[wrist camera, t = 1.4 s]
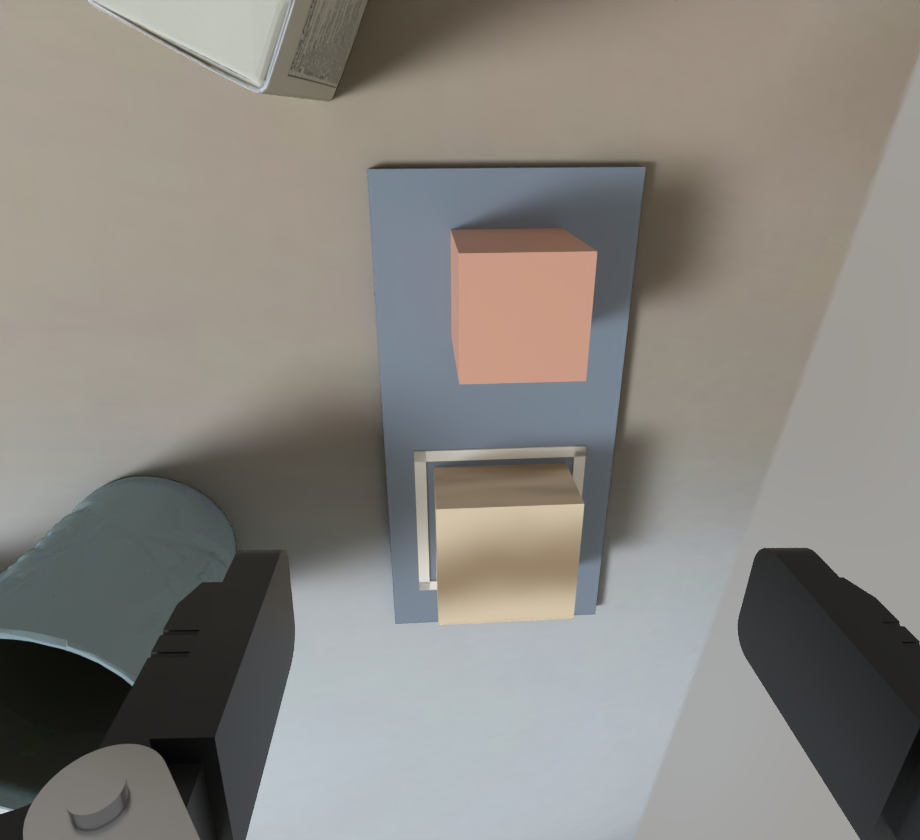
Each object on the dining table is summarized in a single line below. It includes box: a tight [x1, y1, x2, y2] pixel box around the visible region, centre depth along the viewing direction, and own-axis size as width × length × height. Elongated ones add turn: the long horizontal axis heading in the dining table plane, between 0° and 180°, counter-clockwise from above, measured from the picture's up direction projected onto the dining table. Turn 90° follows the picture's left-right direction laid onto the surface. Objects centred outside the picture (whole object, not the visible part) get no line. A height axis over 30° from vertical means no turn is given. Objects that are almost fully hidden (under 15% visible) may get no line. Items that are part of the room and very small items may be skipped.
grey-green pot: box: [0, 476, 236, 811], centre depth 29 cm, size 10×10×12 cm
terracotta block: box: [450, 228, 597, 384], centre depth 26 cm, size 5×5×6 cm
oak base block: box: [434, 463, 584, 625], centre depth 32 cm, size 7×7×4 cm
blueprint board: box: [367, 166, 646, 624], centre depth 32 cm, size 25×12×1 cm, turn 0°
